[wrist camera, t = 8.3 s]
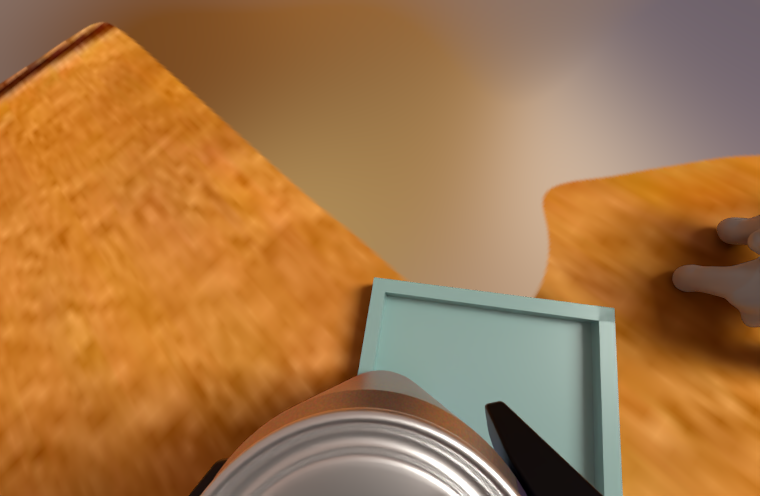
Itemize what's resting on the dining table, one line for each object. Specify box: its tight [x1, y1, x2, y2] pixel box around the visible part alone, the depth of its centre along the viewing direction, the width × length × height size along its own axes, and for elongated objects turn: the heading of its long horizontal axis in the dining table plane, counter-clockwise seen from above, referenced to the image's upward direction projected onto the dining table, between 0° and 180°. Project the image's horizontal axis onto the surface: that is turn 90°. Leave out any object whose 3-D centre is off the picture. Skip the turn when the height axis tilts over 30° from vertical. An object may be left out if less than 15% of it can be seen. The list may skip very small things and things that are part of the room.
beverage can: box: [200, 370, 527, 496], centre depth 11 cm, size 6×6×15 cm
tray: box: [358, 277, 623, 496], centre depth 19 cm, size 14×14×2 cm
